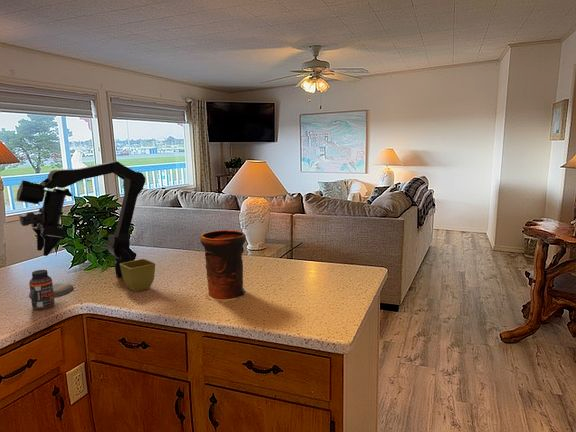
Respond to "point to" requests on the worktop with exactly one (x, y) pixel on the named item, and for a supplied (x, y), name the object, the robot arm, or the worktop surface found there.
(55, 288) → the coaster
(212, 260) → the vessel
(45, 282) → the supplement bottle
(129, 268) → the flower pot
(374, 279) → the worktop surface
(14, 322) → the worktop surface
